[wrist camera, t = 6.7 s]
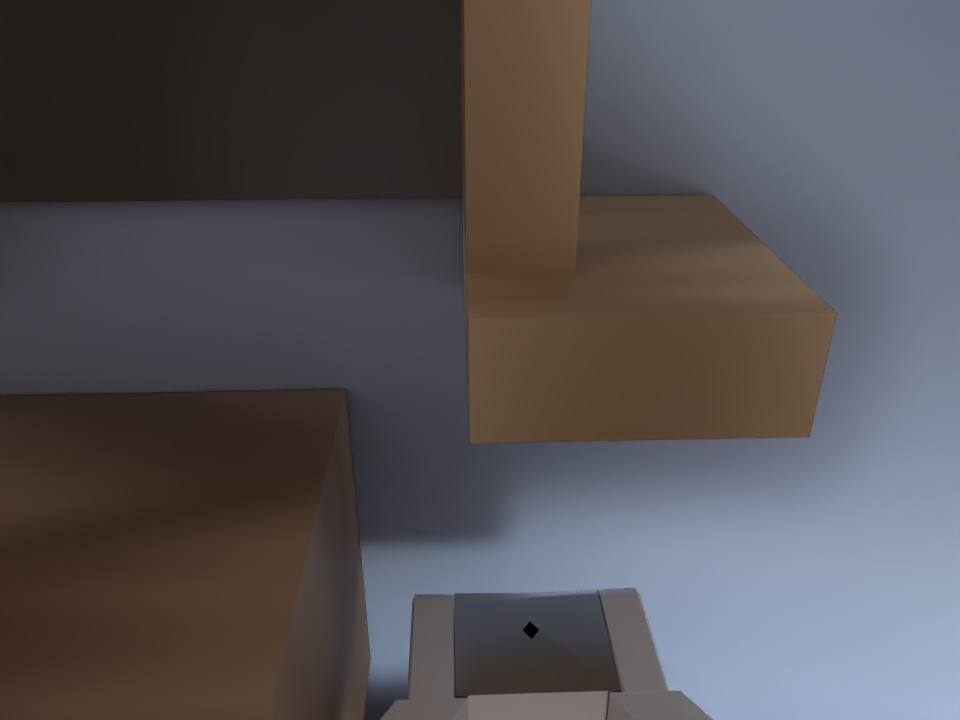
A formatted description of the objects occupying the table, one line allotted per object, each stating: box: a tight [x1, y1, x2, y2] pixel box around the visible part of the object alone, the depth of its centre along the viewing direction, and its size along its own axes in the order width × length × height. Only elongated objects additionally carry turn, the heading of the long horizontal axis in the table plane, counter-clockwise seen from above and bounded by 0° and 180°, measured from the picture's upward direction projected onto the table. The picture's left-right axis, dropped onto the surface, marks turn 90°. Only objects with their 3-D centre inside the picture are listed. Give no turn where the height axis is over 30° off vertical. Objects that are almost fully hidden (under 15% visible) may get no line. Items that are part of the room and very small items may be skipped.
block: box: [0, 389, 370, 720], centre depth 10 cm, size 5×5×5 cm
